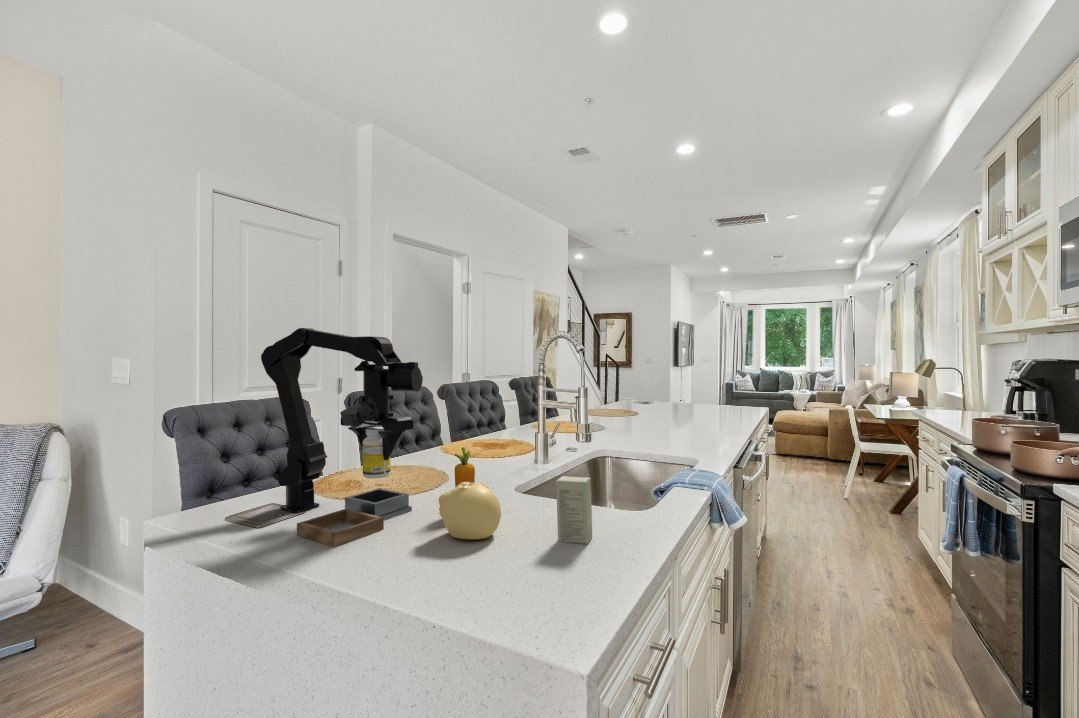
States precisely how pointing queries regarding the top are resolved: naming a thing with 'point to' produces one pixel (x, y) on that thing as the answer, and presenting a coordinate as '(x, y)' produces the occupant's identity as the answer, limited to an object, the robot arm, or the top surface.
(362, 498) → the dark metal seat block
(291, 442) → the robot arm
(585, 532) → the skincare box
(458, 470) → the carrot
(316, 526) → the walnut collar
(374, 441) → the pill bottle
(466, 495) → the sculpture
